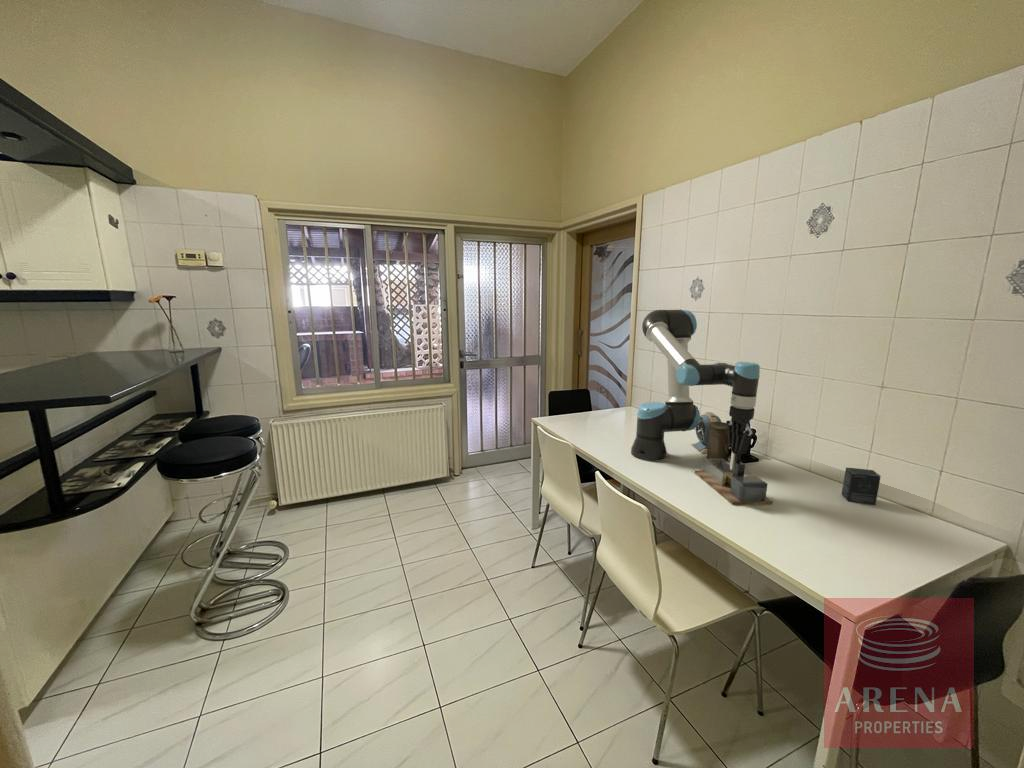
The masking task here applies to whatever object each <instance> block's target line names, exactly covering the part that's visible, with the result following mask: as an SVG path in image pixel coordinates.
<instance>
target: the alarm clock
mask: <svg viewBox="0 0 1024 768" xmlns="http://www.w3.org/2000/svg"><path fill="white" fill-rule="evenodd" d="M711 422H722V420H721V418H720V417H719V416H718V415H716V414H715V413H714V412H712V411H711V412H710V411H707V412H705V413H703V414H700V420H699V423H698V425H697V426H696V427H695V434H696V437H697V440H698V442H694V443H691V444H690V445H691V446H692V447H693V448H694V449H695V450H696V451H698V452H699V453H700V454H701V455H707V451H708V444H709V435H710V434H709V433H710V425H709V424H710V423H711Z"/></svg>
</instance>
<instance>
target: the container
mask: <svg viewBox="0 0 1024 768" xmlns="http://www.w3.org/2000/svg"><path fill="white" fill-rule="evenodd" d="M709 425H710V433H709V434H710V435H709V444H708V451H707V454H706V457H705V459H714V458H723V459H724V460H726V461H727V462H729V453H730V452H729V451H730V448H729V447H728V429H727V423H726V422H723V421H721V422H711V423H710V424H709ZM729 463H730V462H729Z"/></svg>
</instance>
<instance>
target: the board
mask: <svg viewBox="0 0 1024 768" xmlns="http://www.w3.org/2000/svg"><path fill="white" fill-rule="evenodd" d="M694 474H695V475H696V476H698V478H700V479H701V480H702V481H703V482H705V483H706V484H707V485H708V486H709V487H710V488H712V489H713V490H714V491H715V492H716V493H718V494H719V496H721V497H723V499H725V500H726V501H727V502H728V503H729V504H731V505H732V506H739V505H741V506H742V505H773V504H774V502H773V500H772V499H770V498H769V497H768V496H766V499H765V502H740V501H739V500H738V499H736V498H735V497H734V496H733V495H731V494H730V492H731V486H730V485H729V484H727V483H726V482H725V486H721V485H720V484H718V483H717V482H716V481H715V480H713V479H712V478H711V477H710V476H708V475H707V474H706V473H705V472H703V471H702V470H701V469H700V470H694Z"/></svg>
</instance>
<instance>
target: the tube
mask: <svg viewBox="0 0 1024 768" xmlns="http://www.w3.org/2000/svg"><path fill="white" fill-rule="evenodd" d="M745 471H746V463H743V462H742V461H740V462H735V463H734V471H733V474H732V473H731V472H726V480H725V482H726V483H727V484H729V485H730V486H731V484H732V476H745Z"/></svg>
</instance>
